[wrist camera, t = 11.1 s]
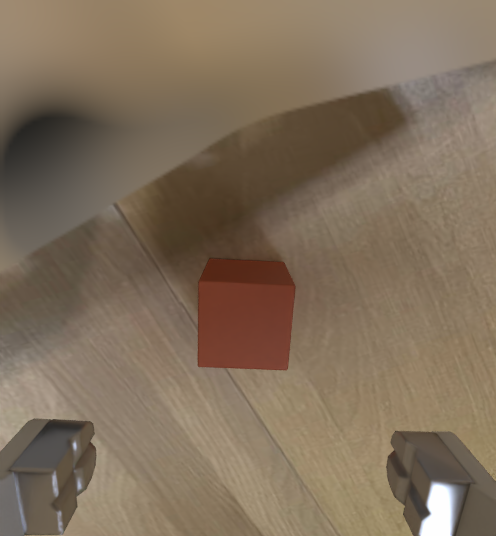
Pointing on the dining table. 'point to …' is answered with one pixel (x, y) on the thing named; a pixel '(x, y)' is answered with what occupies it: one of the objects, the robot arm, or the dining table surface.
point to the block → (245, 314)
